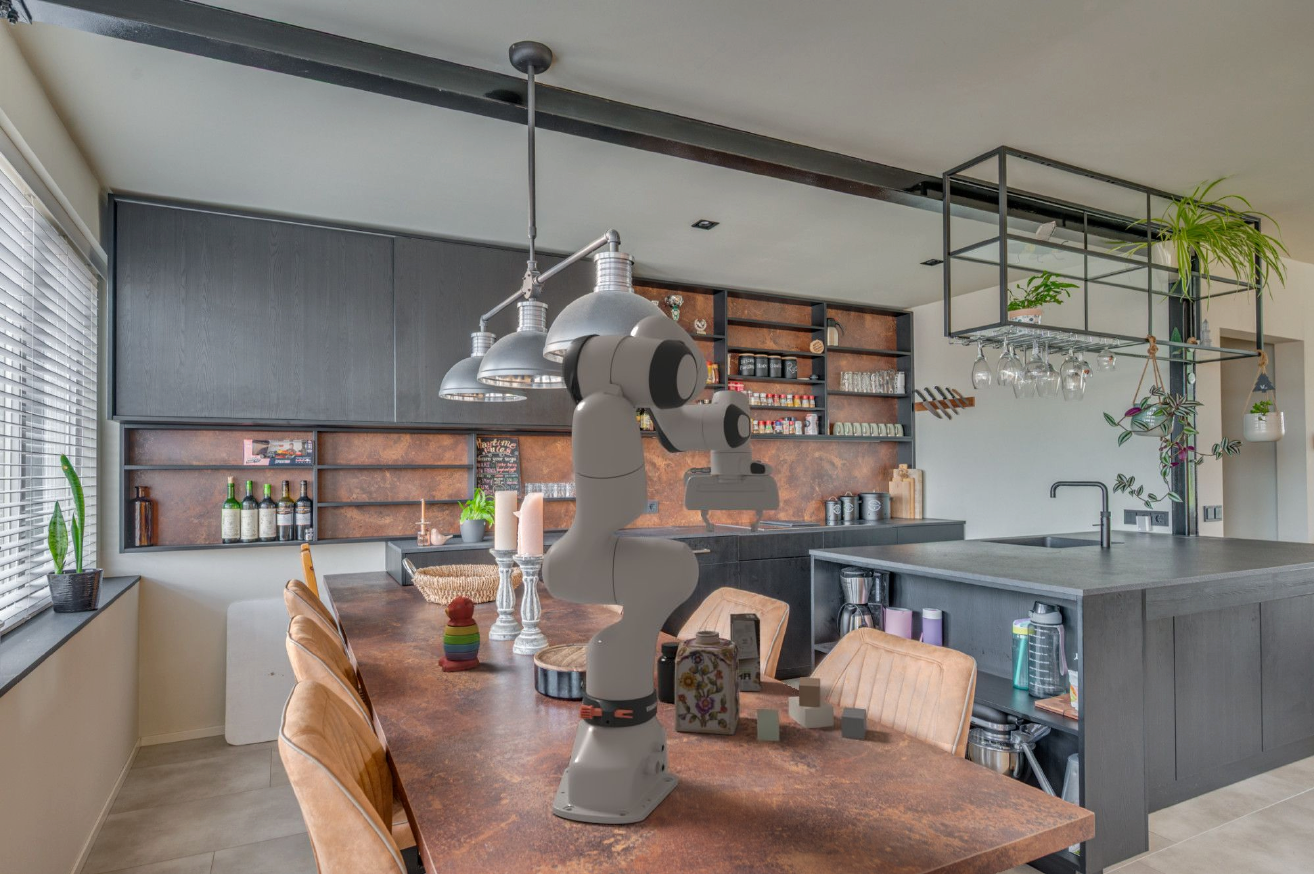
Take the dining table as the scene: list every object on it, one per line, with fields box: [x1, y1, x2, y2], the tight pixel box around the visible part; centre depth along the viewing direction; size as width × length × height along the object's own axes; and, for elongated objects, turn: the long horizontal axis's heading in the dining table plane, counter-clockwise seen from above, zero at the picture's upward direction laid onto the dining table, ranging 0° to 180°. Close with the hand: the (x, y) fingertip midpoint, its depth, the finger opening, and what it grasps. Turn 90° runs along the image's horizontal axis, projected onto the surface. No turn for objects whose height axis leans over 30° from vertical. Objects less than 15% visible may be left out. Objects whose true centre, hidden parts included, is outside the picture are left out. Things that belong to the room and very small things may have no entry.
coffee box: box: [729, 612, 761, 692], centre depth 174 cm, size 9×6×16 cm
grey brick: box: [840, 706, 867, 741], centre depth 141 cm, size 6×4×4 cm, turn 160°
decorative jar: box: [674, 630, 741, 736], centre depth 148 cm, size 12×12×18 cm
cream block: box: [788, 695, 835, 729], centre depth 149 cm, size 8×6×4 cm
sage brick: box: [756, 708, 780, 742], centre depth 141 cm, size 6×4×4 cm, turn 172°
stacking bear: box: [437, 595, 481, 673], centre depth 194 cm, size 11×10×18 cm
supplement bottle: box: [656, 641, 681, 704], centre depth 164 cm, size 7×7×12 cm
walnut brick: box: [798, 676, 822, 707], centre depth 149 cm, size 6×4×4 cm, turn 166°
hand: (732, 532), depth 158 cm, fingers open, 8 cm apart
